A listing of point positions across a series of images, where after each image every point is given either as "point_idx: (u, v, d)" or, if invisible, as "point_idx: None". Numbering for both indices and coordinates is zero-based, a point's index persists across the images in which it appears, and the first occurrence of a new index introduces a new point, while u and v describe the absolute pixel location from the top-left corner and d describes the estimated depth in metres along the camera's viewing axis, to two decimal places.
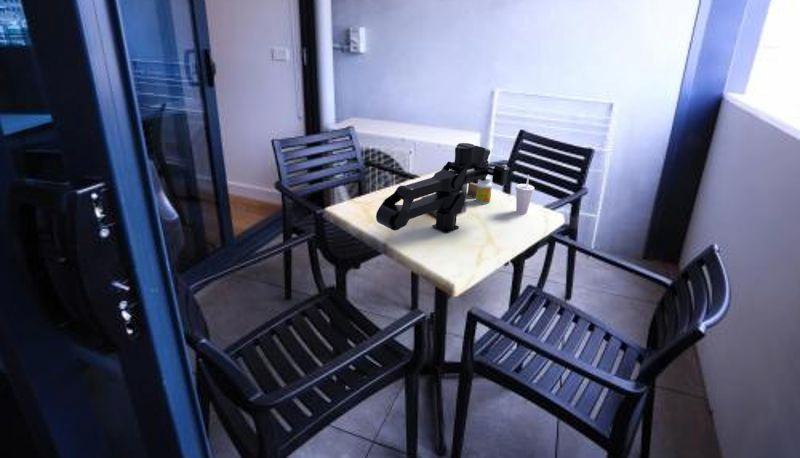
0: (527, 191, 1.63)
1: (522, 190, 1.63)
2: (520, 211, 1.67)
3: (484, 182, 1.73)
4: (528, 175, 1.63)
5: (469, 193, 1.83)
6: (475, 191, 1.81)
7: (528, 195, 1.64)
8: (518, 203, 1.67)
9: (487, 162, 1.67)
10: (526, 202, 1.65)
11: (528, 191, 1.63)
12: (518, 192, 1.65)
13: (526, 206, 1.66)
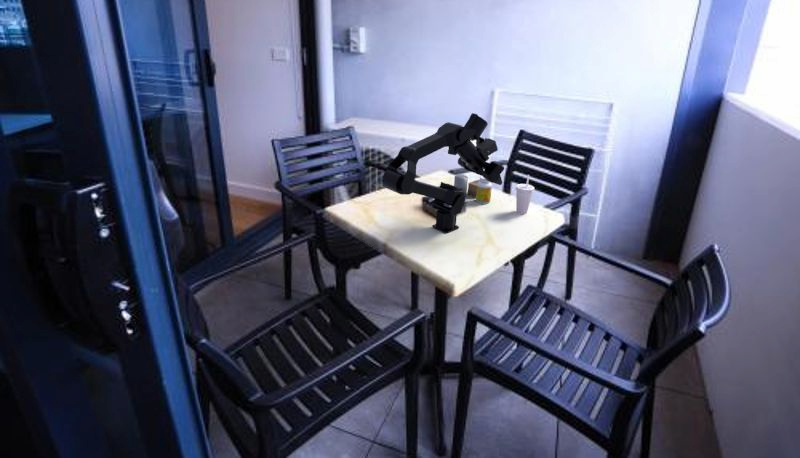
0: (527, 191, 1.63)
1: (522, 190, 1.63)
2: (520, 211, 1.67)
3: (484, 182, 1.73)
4: (528, 175, 1.63)
5: (469, 193, 1.83)
6: (475, 191, 1.81)
7: (528, 195, 1.64)
8: (518, 203, 1.67)
9: None
10: (526, 202, 1.65)
11: (528, 191, 1.63)
12: (518, 192, 1.65)
13: (526, 206, 1.66)
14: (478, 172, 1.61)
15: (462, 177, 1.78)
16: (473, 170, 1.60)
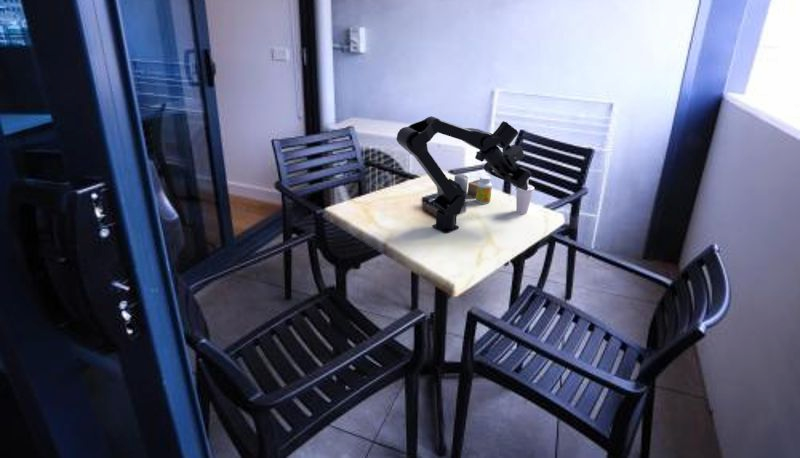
0: (527, 191, 1.63)
1: (522, 190, 1.63)
2: (520, 211, 1.67)
3: (484, 182, 1.73)
4: None
5: (469, 193, 1.83)
6: (475, 191, 1.81)
7: (528, 195, 1.64)
8: (518, 203, 1.67)
9: (509, 180, 1.67)
10: (526, 202, 1.65)
11: (528, 191, 1.63)
12: (518, 192, 1.65)
13: (526, 206, 1.66)
14: (503, 178, 1.65)
15: (462, 177, 1.78)
16: (499, 176, 1.64)
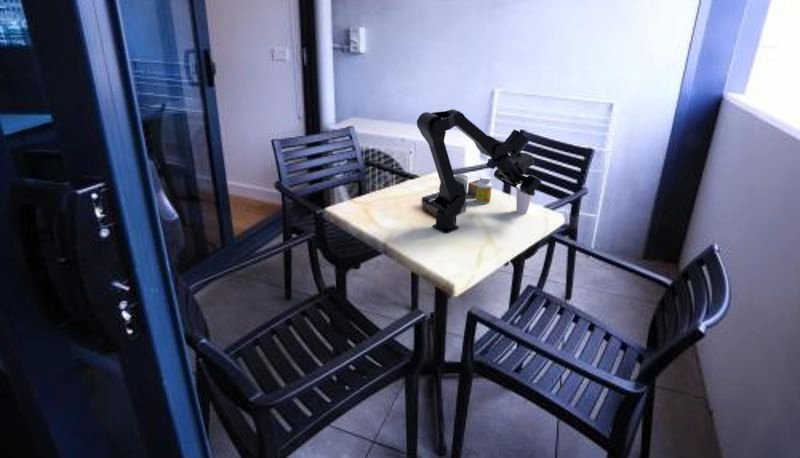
0: None
1: None
2: (520, 211, 1.67)
3: (484, 182, 1.73)
4: (528, 175, 1.63)
5: (469, 193, 1.83)
6: (475, 191, 1.81)
7: (528, 195, 1.64)
8: (518, 203, 1.67)
9: None
10: (526, 202, 1.65)
11: None
12: (518, 192, 1.65)
13: (526, 206, 1.66)
14: (515, 186, 1.68)
15: (462, 177, 1.78)
16: (511, 184, 1.67)
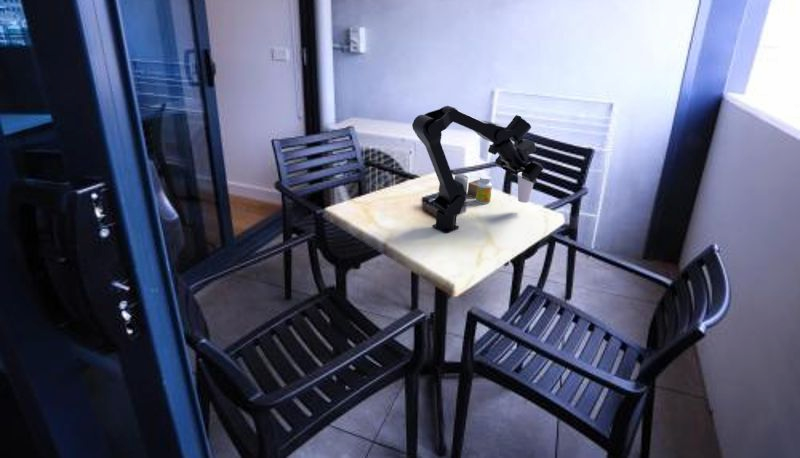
0: None
1: None
2: (521, 199, 1.65)
3: (484, 182, 1.73)
4: None
5: (469, 193, 1.83)
6: (475, 191, 1.81)
7: (530, 183, 1.62)
8: (520, 191, 1.65)
9: None
10: (528, 190, 1.63)
11: None
12: (520, 180, 1.63)
13: (528, 194, 1.64)
14: (517, 173, 1.66)
15: (462, 177, 1.78)
16: (512, 171, 1.65)
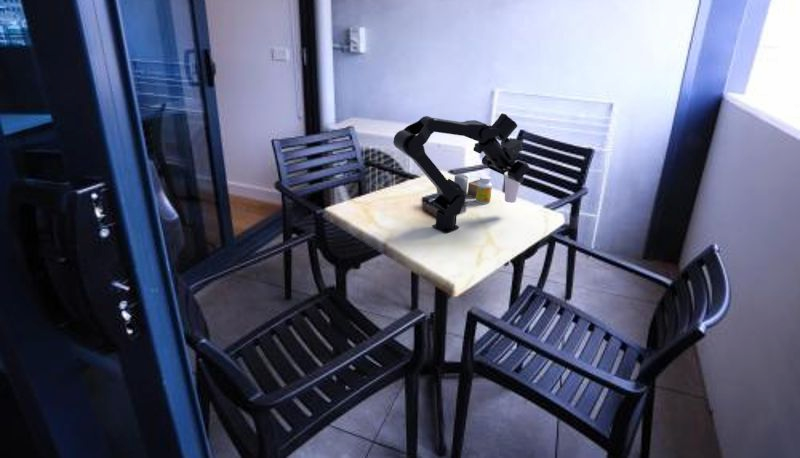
0: None
1: None
2: (508, 199, 1.62)
3: (484, 182, 1.73)
4: None
5: (469, 193, 1.83)
6: (475, 191, 1.81)
7: (516, 182, 1.59)
8: (506, 191, 1.62)
9: None
10: (514, 190, 1.60)
11: None
12: (506, 179, 1.60)
13: (515, 194, 1.61)
14: None
15: (462, 177, 1.78)
16: (499, 171, 1.62)
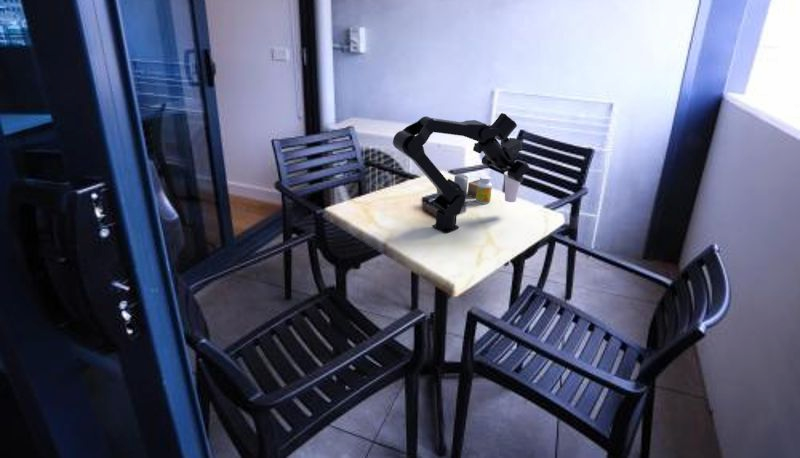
0: None
1: None
2: (508, 198, 1.62)
3: (484, 182, 1.73)
4: None
5: (469, 193, 1.83)
6: (475, 191, 1.81)
7: (516, 182, 1.59)
8: (506, 191, 1.62)
9: None
10: (514, 189, 1.60)
11: None
12: (506, 179, 1.60)
13: (515, 194, 1.61)
14: (503, 172, 1.63)
15: (462, 177, 1.78)
16: (499, 170, 1.62)
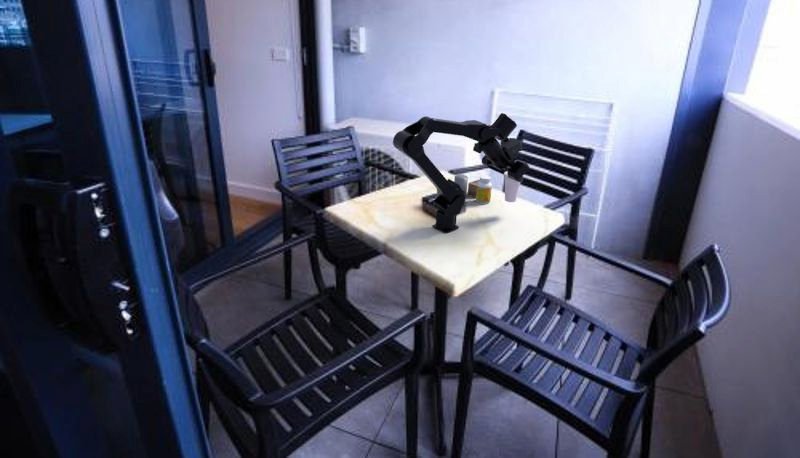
0: None
1: None
2: (508, 198, 1.62)
3: (484, 182, 1.73)
4: None
5: (469, 193, 1.83)
6: (475, 191, 1.81)
7: (516, 182, 1.59)
8: (506, 191, 1.62)
9: None
10: (514, 189, 1.60)
11: None
12: (506, 179, 1.60)
13: (515, 194, 1.61)
14: (503, 172, 1.63)
15: (462, 177, 1.78)
16: (499, 170, 1.62)
